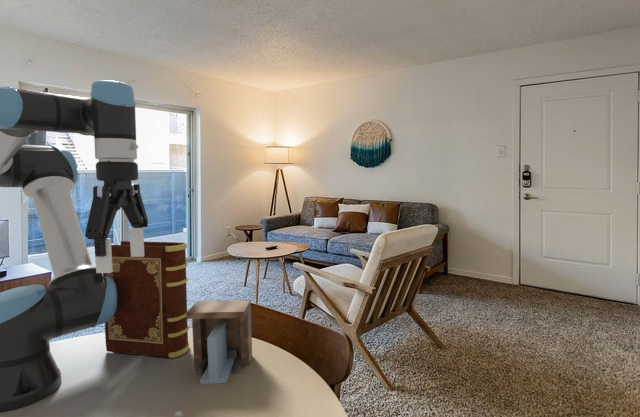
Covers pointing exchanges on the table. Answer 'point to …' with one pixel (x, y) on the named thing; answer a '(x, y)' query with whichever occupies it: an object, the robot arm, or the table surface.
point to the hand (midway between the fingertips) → (122, 264)
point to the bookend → (217, 357)
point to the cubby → (236, 330)
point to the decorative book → (149, 300)
